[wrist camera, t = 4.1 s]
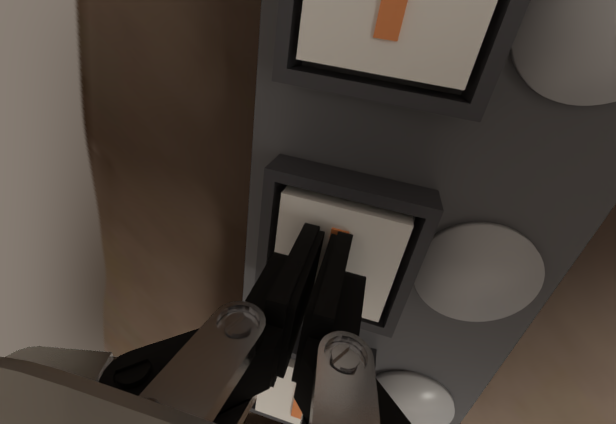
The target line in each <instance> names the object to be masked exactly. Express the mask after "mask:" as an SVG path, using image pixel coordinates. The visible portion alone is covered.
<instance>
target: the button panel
mask: <svg viewBox="0 0 616 424" xmlns="http://www.w3.org/2000/svg"><path fill="white" fill-rule="evenodd" d="M302 4H303V0H261V15H260V31H259V47H258V63H257V79H256V95H255V111H254V127H253V142H252V158H251V174H250V190H249V206H248V222H247V238H246V254H245V270H244V286H243V301H245V300H246V298H247V296H248V295H249V293H250V291H251V290H252V288H253V286H254V284H255V283H256V281H257V279H258V278H259V276H260V274H261V272H262V271H263V269H264V267H265V266H266V264H267V262H268V261H269V259H270V257H271V255H272V254H273V253H274V251H275V242H276V234H277V225H278V217H279V208H280V200H281V193H282V191H283V190H284V189H285V188H286V186H287V185H290V186H294V187H298V188H302V189H306V190H310V191H314V192H318V193H322V194H326V195H331V196H335V197H339V198H343V199H347V200H351V201H355V202H359V203H363V204H367V205H371V206H375V207H379V208H383V209H388V210H392V211H396V212H400V213H404V214H408V215H412V216H413V223H414V227H413V229H412V232H411V235H410V238H409V240H408V243H407V246H406V248H405V251H404V254H403V257H402V259H401V262H400V265H399V268H398V270H397V273H396V276H395V278H394V281H393V284H392V287H391V289H390V292H389V295H388V297H387V300H386V303H385V306H384V308H383V311H382V314H381V316H380V319H379V322H375V321H372V320H368V319H365V318H361V326H360V334H359V337H360V338H362V339H363V340H364V341H365V342H366V343H367V344H368V346H369V347H370V349H371V350H372V353H373V357H374V363H375V373H376V379H377V380H378V381H379V382H380V384H381V385H382V386H383V388H384V389H385V390H386V391H387V393H388V394H389V395H390V397H391V398H392V399H393V401H394V402H395V403H396V404H397V406H398V407H399V408H400V410H401V411H402V412H403V413H404V415H405V416H406V417H407V419H408V420H409V421H410V422H411V424H460V423H461V421H462V420H463V418H464V417H465V416H466V414H467V413H468V411H469V410H470V409H471V407H472V406H473V404H474V403H475V402H476V400H477V399H478V397H479V396H480V394H481V393H482V392H483V390H484V389H485V387H486V386H487V385H488V383H489V382H490V380H491V379H492V378H493V376H494V375H495V373H496V372H497V371H498V369H499V368H500V366H501V365H502V363H503V362H504V361H505V359H506V358H507V356H508V355H509V354H510V352H511V351H512V349H513V348H514V347H515V345H516V344H517V342H518V341H519V340H520V338H521V337H522V335H523V334H524V332H525V331H526V330H527V328H528V327H529V325H530V324H531V323H532V321H533V320H534V318H535V317H536V316H537V314H538V313H539V311H540V310H541V308H542V307H543V306H544V304H545V303H546V301H547V300H548V299H549V297H550V296H551V294H552V293H553V292H554V290H555V289H556V287H557V286H558V285H559V283H560V282H561V280H562V279H563V277H564V276H565V275H566V273H567V272H568V270H569V269H570V268H571V266H572V265H573V263H574V262H575V261H576V259H577V258H578V256H579V255H580V253H581V252H582V251H583V249H584V248H585V246H586V245H587V244H588V242H589V241H590V239H591V238H592V237H593V235H594V234H595V232H596V231H597V230H598V228H599V227H600V225H601V224H602V222H603V221H604V220H605V218H606V217H607V215H608V214H609V213H610V211H611V210H612V208H613V207H614V206H615V204H616V0H498V1H497V4H496V7H495V9H494V12H493V15H492V18H491V20H490V23H489V26H488V28H487V31H486V34H485V37H484V39H483V42H482V45H481V47H480V50H479V53H478V55H477V58H476V61H475V64H474V66H473V69H472V72H471V74H470V77H469V80H468V83H467V85H466V88H465V90H459V89H454V88H448V87H443V86H438V85H432V84H427V83H422V82H416V81H411V80H405V79H400V78H395V77H389V76H384V75H378V74H373V73H368V72H362V71H357V70H352V69H346V68H341V67H335V66H330V65H325V64H319V63H314V62H308V61H303V60H298V59H296V55H297V47H298V38H299V30H300V21H301V13H302ZM303 320H304V319H303ZM302 325H303V322H302ZM302 325H301V328H300V331H299V334H298V337H297V340H296V343H295V346H294V349H293V352H292V355H291V359H294V360H295V359H296V354H297V350H298V345H299V340H300V335H301V330H302ZM256 398H257V397H256ZM255 407H256V400H255V403H254V404H253V406H252V408H251V410H250V412H253V413H256V414H258V415H261V416H264V417H267V418H269V419H272V420H275V421H278V422H281V423H283V424H293V423H290V422H287V421H284V420H282V419H279V418H276V417H273V416H270V415H268V414H265V413H262V412H259V411H256V410H255Z"/></svg>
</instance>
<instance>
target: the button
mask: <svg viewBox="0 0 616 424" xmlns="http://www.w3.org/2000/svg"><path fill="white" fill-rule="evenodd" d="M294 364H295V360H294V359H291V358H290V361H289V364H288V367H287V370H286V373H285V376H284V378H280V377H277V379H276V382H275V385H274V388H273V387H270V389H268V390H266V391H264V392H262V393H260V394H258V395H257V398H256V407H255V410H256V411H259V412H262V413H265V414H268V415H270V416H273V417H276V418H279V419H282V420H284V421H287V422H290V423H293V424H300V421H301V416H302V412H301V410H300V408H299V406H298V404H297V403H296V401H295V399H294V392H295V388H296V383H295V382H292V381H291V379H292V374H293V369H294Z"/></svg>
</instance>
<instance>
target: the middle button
mask: <svg viewBox="0 0 616 424" xmlns="http://www.w3.org/2000/svg"><path fill="white" fill-rule="evenodd" d="M304 223H309V224H313V225H317V226H320V231H324V232H325V234H324V239H323V244H322V248H321V253H320V258H319V263H318V268H317V273H316V277H317V275H318V272H319V269H320V266H321V263H322V260H323V257H324V254H325V251H326V248H327V245H328V242H329V239H330V236H331V234H336V235H337V234H338V231H340V232H344V233H348V234H352V235H353V239H352V243H351V248H350V252H349V257H348V261H347V266H346V270H345V271H347V272H351V273H354V274H358V275H362V276H365V277H366V286H365V294H364V302H363V310H362V318H365V319H368V320H372V321H375V322H379V319H380V316H381V314H382V311H383V308H384V306H385V303H386V300H387V297H388V295H389V292H390V289H391V287H392V284H393V281H394V278H395V276H396V273H397V270H398V268H399V265H400V262H401V259H402V257H403V254H404V251H405V248H406V246H407V243H408V240H409V238H410V235H411V232H412V229H413V227H414V223H413V216H412V215H408V214H404V213H400V212H396V211H392V210H388V209H383V208H379V207H375V206H371V205H367V204H363V203H359V202H355V201H351V200H347V199H343V198H339V197H335V196H331V195H326V194H322V193H318V192H314V191H310V190H306V189H302V188H298V187H294V186H290V185H287V186H286V188H285V189H284V190H283V191H282V193H281V200H280V208H279V217H278V225H277V234H276V242H275V251H274V252H277V253H281V254H285V255H289V253H290V251H291V249H292V247H293V245H294V243H295V241H296V239H297V237H298V235H299V233H300V231H301V229H302V227H303V225H304ZM316 277H315V280H316ZM314 283H315V282H314Z"/></svg>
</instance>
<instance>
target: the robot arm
mask: <svg viewBox="0 0 616 424" xmlns="http://www.w3.org/2000/svg"><path fill="white" fill-rule="evenodd" d="M324 234H325V232H324V231H320V226H317V225H313V224H309V223H304V225H303V227H302V229H301V231H300V233H299V235H298V237H297V239H296V241H295V243H294V245H293V247H292V249H291V251H290V253H289V255H285V254H281V253H277V252H274V253H273V254H272V255H271V257H270V259H269V261H268V262H267V264H266V266H265V267H264V269H263V271H262V272H261V274H260V276H259V278H258V279H257V281H256V283H255V284H254V286H253V288H252V290H251V291H250V293H249V295H248V296H247V298H246V300H245V301H234V302H229V303H227V304H225V305H222V306H221V307H220V308H218V309H217V310H216V311H215V312H214V313H213V314H212V315H211V317H210V318H209V319H208V320H207V321H206V322H205V323H204V324H203V325H202V326H201V328H199V329H196V330H193V331H190V332H187V333H184V334H181V335H178V336H175V337H172V338H169V339H166V340H163V341H160V342H156V343H153V344H150V345H147V346H144V347H141V348H138V349H135V350H132V351H129V352H127V353H125V354H123V355H120V356H119V357H113V355H112V352H103V351H91V350H78V349H65V348H54V347H42V346H37V347H27V348H24V349H21V350H18V351H16V352H14V353H12V354H10V355H8V356H6V357H0V424H243V422H244V421H245V419H246V417H247V415H248V413H249V412H250V410H251V408H252V406H253V404H254V403H255V400H256V397H257V395H258V394H260V393H262V392H264V391H266V390H268V389H270V387H273V388H274V385H275V382H276V379H277V377H280V378H284V376H285V373H286V370H287V367H288V364H289V361H290V358H291V355H292V352H293V349H294V346H295V343H296V340H297V337H298V334H299V331H300V328H301V325H302V322H303V325H302V330H301V335H300V340H299V345H298V350H297V354H296V359H295V364H294V369H293V374H292V379H291V381H292V382H295V383H296V388H295V392H294V399H295V401H296V403H297V404H298V406H299V408H300V410H301V412H302V416H301V421H300V424H411V422H410V421H409V420H408V419H407V417H406V416H405V415H404V413H403V412H402V411H401V410H400V408H399V407H398V406H397V404H396V403H395V402H394V401H393V399H392V398H391V397H390V395H389V394H388V393H387V391H386V390H385V389H384V388H383V386H382V385H381V384H380V382H379V381H378V380H377V379H376V373H375V363H374V357H373V353H372V350H371V349H370V347H369V346H368V344H367V343H366V342H365V341H364V340H363V339H362V338H360V337H359V334H360V326H361V318H362V310H363V302H364V294H365V286H366V277H365V276H362V275H358V274H354V273H351V272H347V271H345V270H346V266H347V261H348V257H349V252H350V248H351V243H352V239H353V235H352V234H348V233H344V232H340V231H338V234H337V235H336V234H331V236H330V239H329V242H328V245H327V248H326V251H325V254H324V257H323V260H322V263H321V266H320V269H319V272H318V275H317V277H316V273H317V268H318V263H319V258H320V253H321V248H322V244H323V239H324ZM315 277H316V280H315ZM314 282H315V283H314ZM303 319H304V320H303Z"/></svg>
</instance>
